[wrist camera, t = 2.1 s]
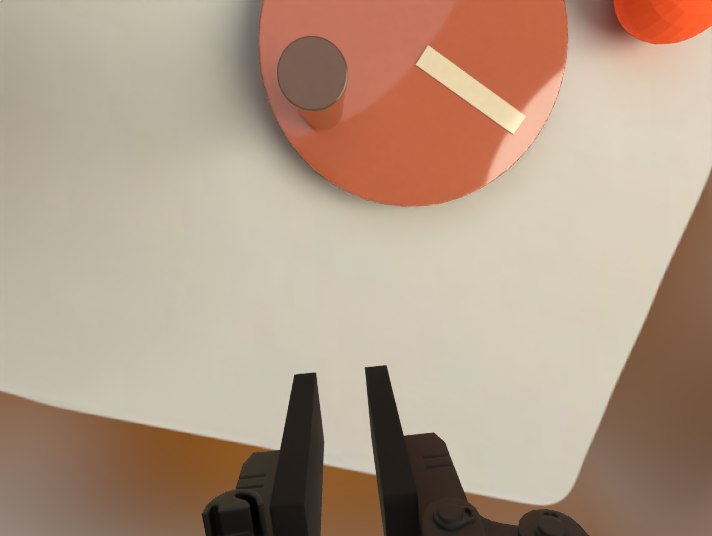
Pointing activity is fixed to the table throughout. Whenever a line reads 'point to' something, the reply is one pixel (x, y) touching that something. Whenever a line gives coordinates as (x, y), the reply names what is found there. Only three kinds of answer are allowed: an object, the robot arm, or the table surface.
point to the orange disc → (412, 89)
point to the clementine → (664, 19)
